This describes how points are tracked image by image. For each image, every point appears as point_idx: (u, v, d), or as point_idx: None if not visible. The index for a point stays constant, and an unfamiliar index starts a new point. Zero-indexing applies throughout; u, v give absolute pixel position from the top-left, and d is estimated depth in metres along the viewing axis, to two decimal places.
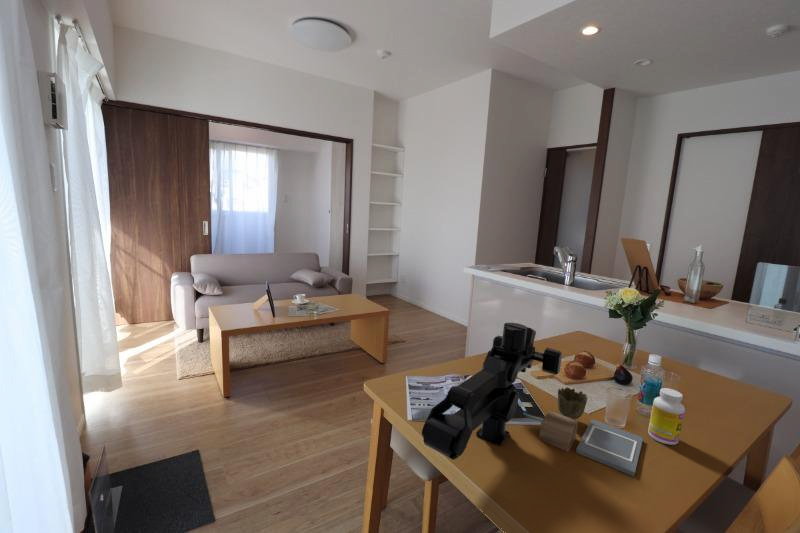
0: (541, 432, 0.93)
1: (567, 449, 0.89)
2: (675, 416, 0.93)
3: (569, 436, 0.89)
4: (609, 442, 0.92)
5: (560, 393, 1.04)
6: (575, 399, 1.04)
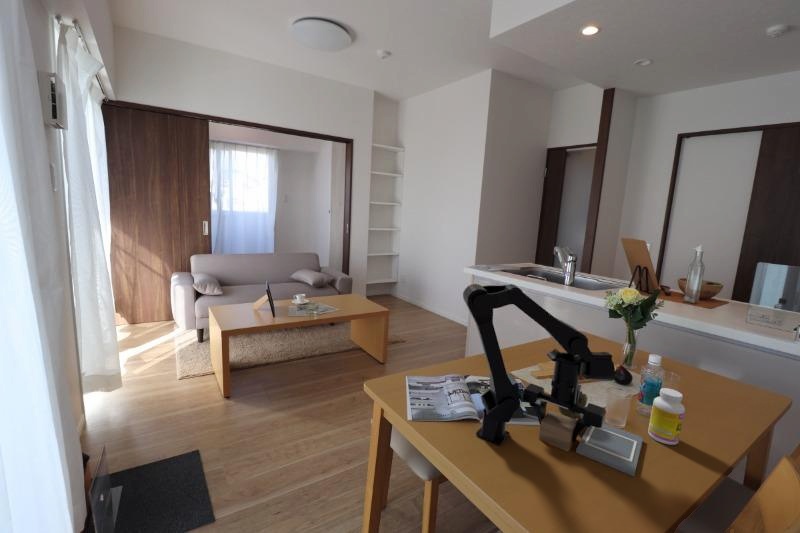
0: (541, 431, 0.93)
1: (567, 448, 0.89)
2: (675, 416, 0.93)
3: (569, 435, 0.89)
4: (609, 442, 0.92)
5: None
6: None
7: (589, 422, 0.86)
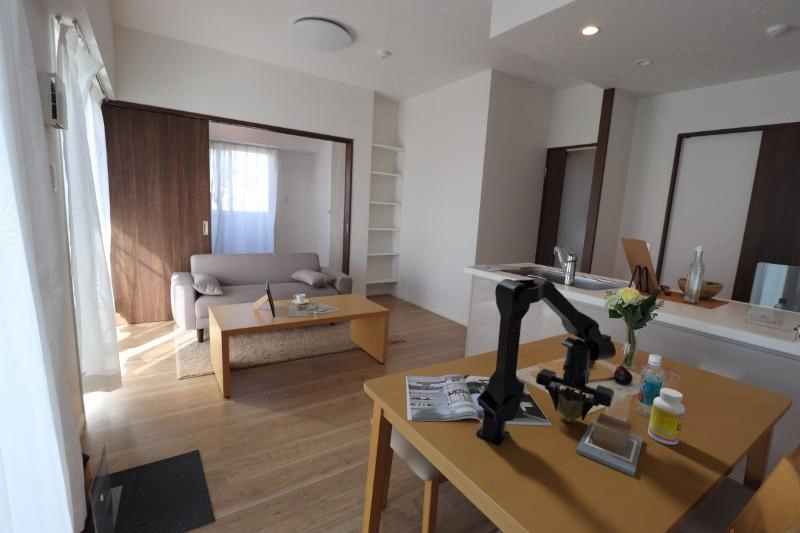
0: (595, 435, 0.91)
1: (623, 453, 0.87)
2: (675, 416, 0.93)
3: (626, 439, 0.87)
4: None
5: (560, 393, 1.04)
6: (575, 399, 1.04)
7: (599, 402, 0.95)
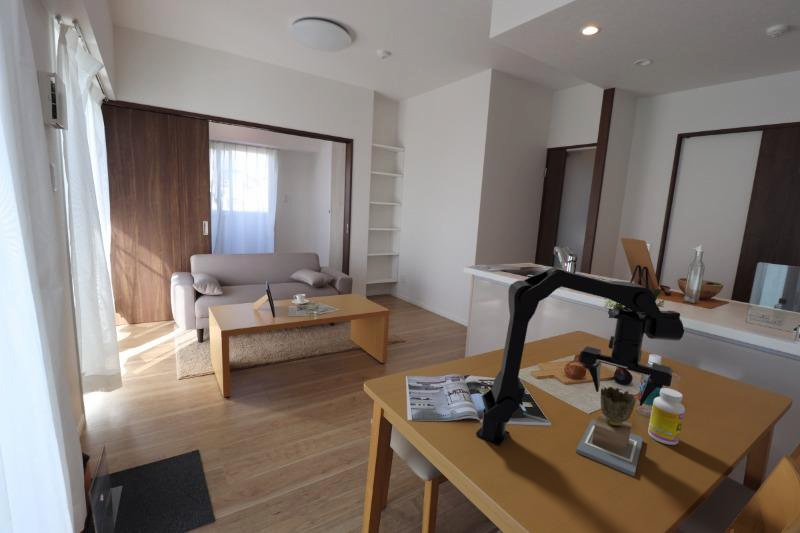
0: (595, 435, 0.91)
1: (623, 453, 0.87)
2: (675, 416, 0.93)
3: (626, 439, 0.87)
4: None
5: (603, 393, 0.93)
6: (620, 400, 0.93)
7: (657, 381, 0.82)
